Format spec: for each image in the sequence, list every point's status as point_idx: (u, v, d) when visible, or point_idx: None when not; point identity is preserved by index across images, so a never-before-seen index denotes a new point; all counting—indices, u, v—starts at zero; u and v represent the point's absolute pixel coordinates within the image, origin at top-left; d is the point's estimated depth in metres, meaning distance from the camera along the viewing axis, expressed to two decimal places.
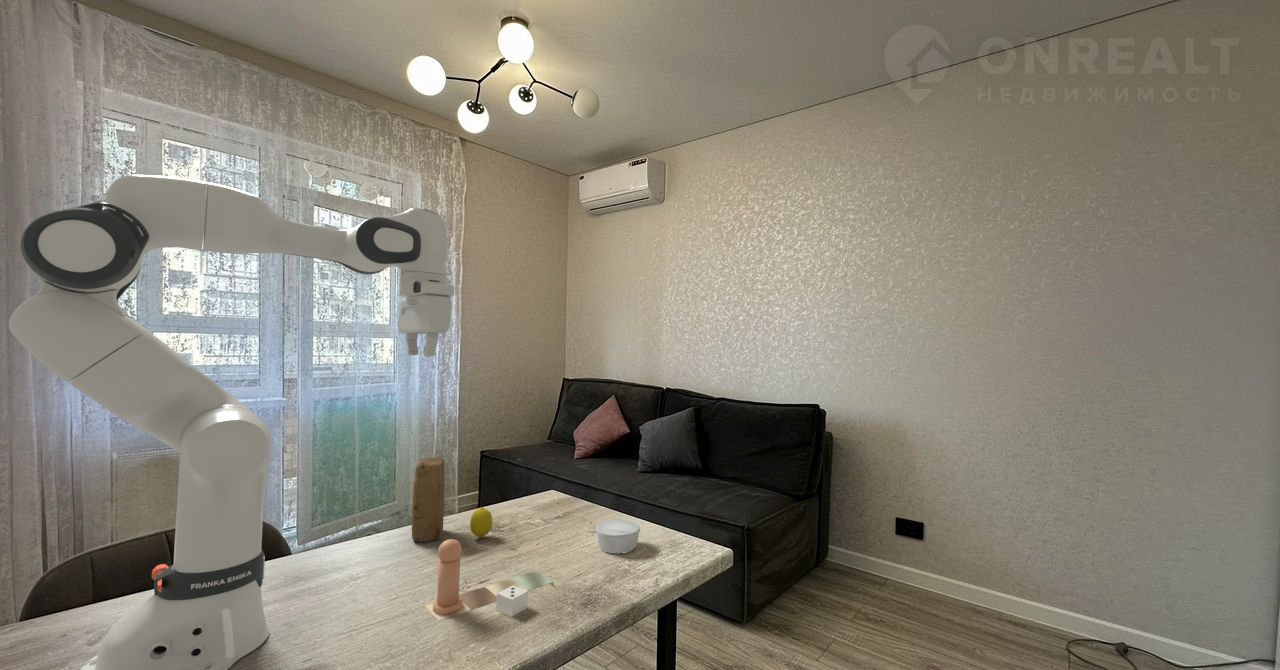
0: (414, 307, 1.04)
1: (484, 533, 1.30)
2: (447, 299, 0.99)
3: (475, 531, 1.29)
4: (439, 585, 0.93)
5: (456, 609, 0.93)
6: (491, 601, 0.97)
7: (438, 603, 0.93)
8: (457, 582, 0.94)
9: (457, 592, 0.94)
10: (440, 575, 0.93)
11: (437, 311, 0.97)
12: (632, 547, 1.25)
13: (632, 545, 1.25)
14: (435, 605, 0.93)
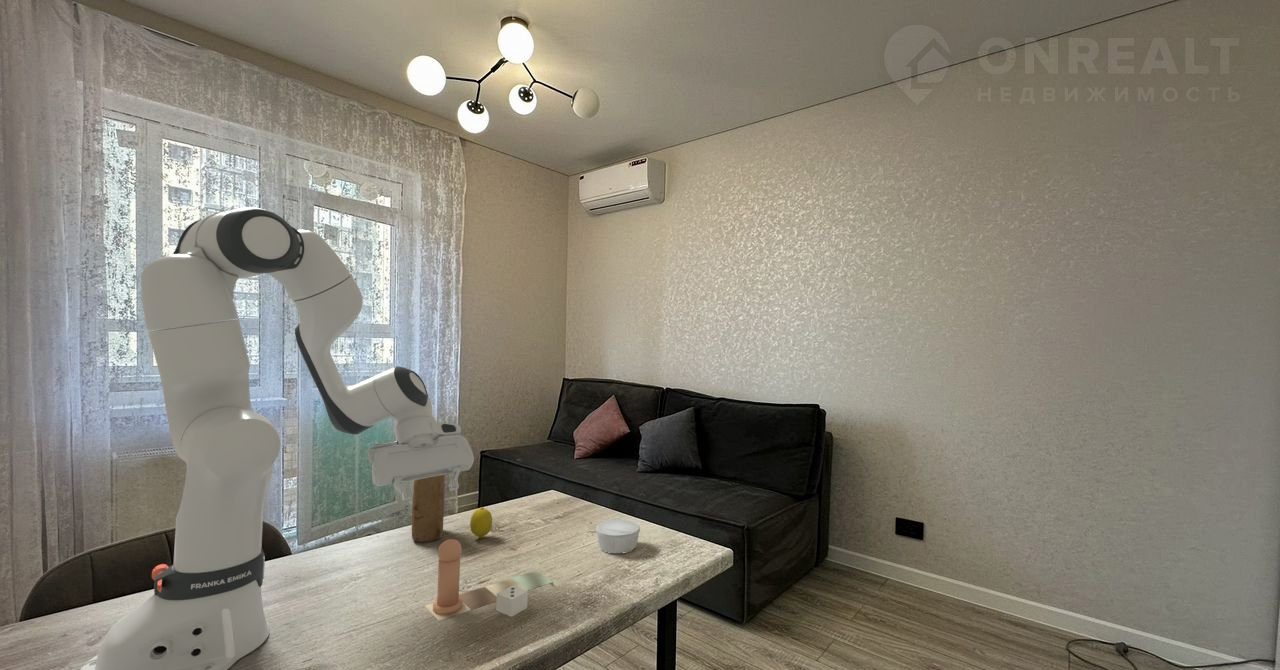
0: (421, 449, 1.09)
1: (484, 533, 1.30)
2: None
3: (475, 531, 1.29)
4: (439, 585, 0.93)
5: (456, 609, 0.93)
6: (491, 601, 0.97)
7: (438, 603, 0.93)
8: (457, 582, 0.94)
9: (457, 592, 0.94)
10: (440, 575, 0.93)
11: None
12: (632, 547, 1.25)
13: (632, 545, 1.25)
14: (435, 605, 0.93)
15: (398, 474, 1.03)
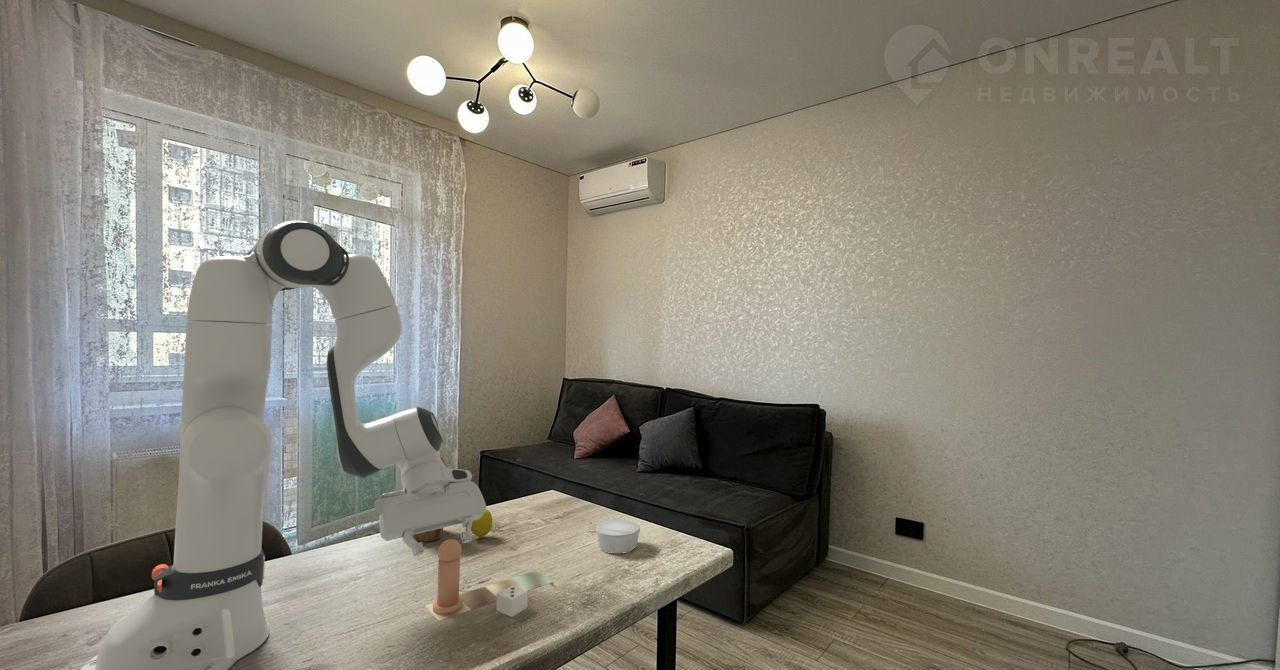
0: (431, 498, 1.02)
1: (484, 533, 1.30)
2: None
3: (475, 531, 1.29)
4: (439, 585, 0.93)
5: (456, 609, 0.93)
6: (491, 601, 0.97)
7: (438, 603, 0.93)
8: (457, 582, 0.94)
9: (457, 592, 0.94)
10: (440, 575, 0.93)
11: None
12: (632, 547, 1.25)
13: (632, 545, 1.25)
14: (435, 605, 0.93)
15: (409, 527, 0.96)
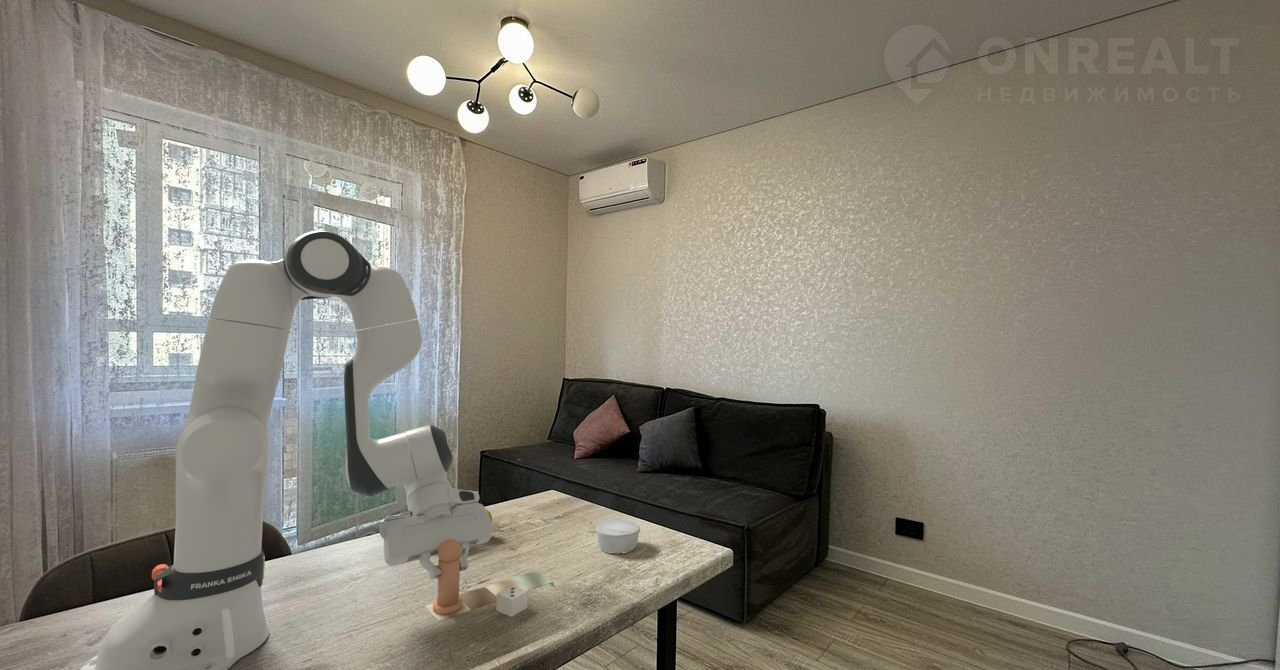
0: (438, 521, 0.99)
1: None
2: None
3: None
4: (439, 585, 0.93)
5: (456, 609, 0.93)
6: (491, 601, 0.97)
7: (438, 603, 0.93)
8: (457, 582, 0.94)
9: (457, 592, 0.94)
10: None
11: None
12: (632, 547, 1.25)
13: (632, 545, 1.25)
14: (435, 605, 0.93)
15: (415, 552, 0.92)
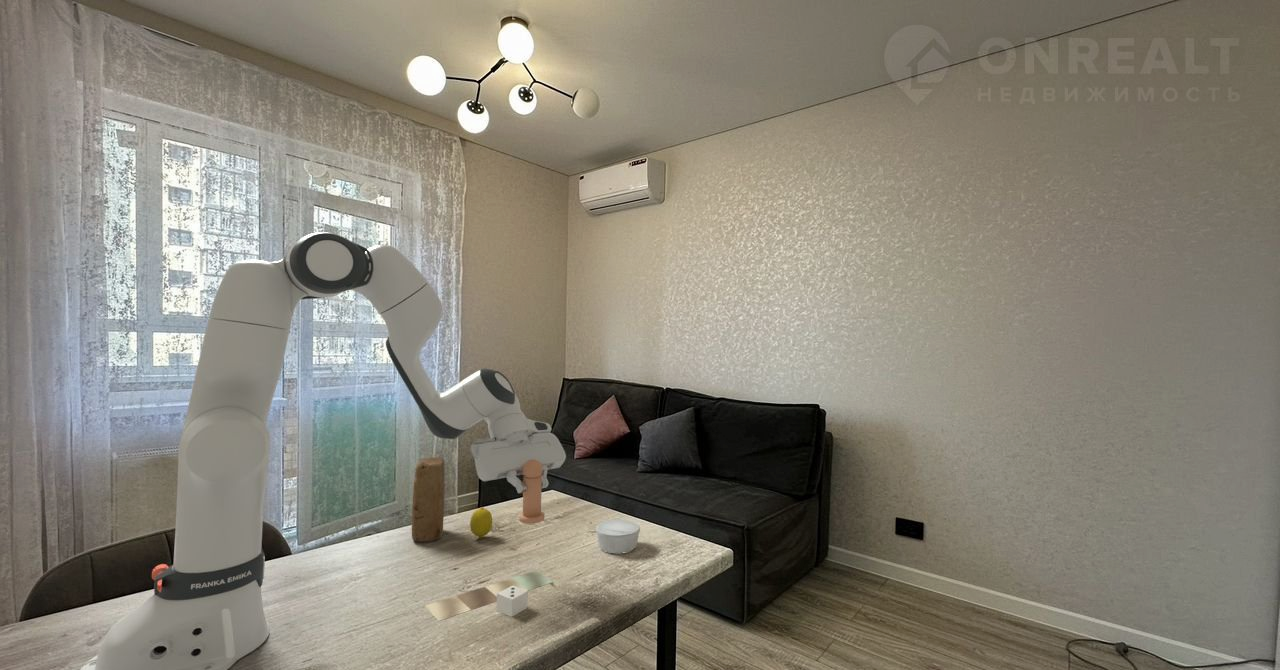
0: (519, 446, 1.11)
1: (484, 533, 1.30)
2: None
3: (475, 531, 1.29)
4: (525, 499, 1.05)
5: (540, 519, 1.05)
6: (491, 601, 0.97)
7: (524, 514, 1.05)
8: (540, 496, 1.06)
9: (540, 505, 1.06)
10: None
11: None
12: (632, 547, 1.25)
13: (632, 545, 1.25)
14: (522, 516, 1.05)
15: (504, 469, 1.04)
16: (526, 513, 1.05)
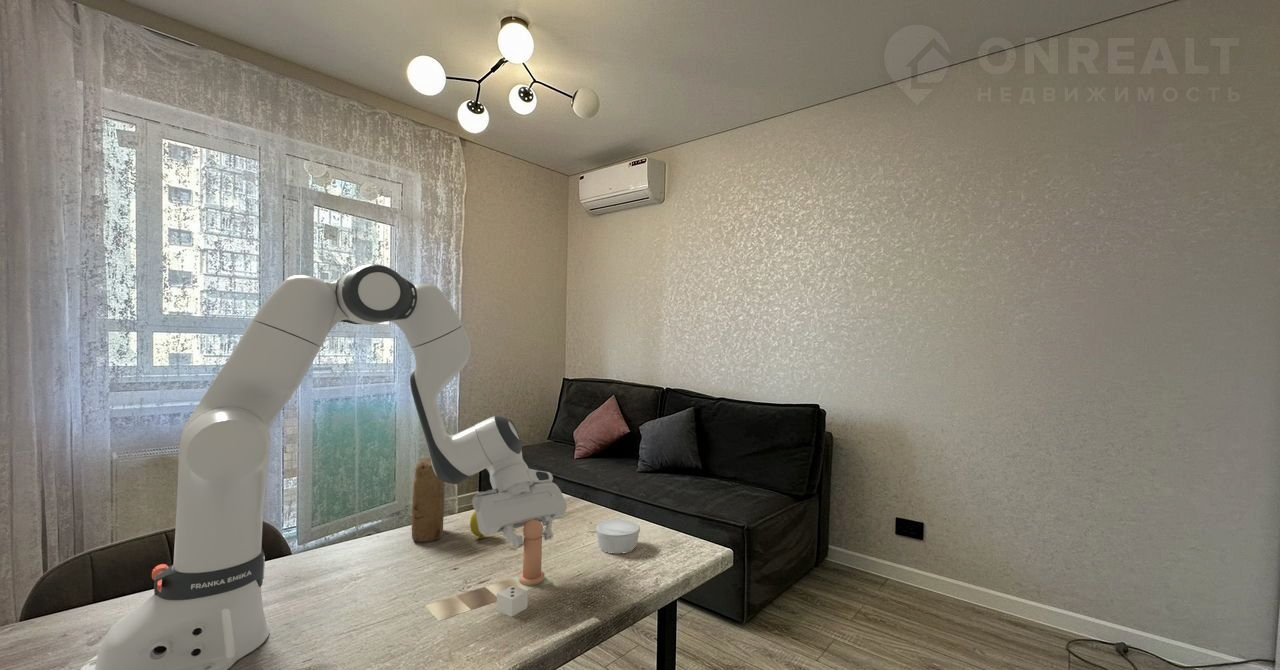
0: (520, 497, 1.11)
1: None
2: None
3: (475, 531, 1.29)
4: (525, 560, 1.05)
5: (540, 581, 1.05)
6: (491, 601, 0.97)
7: (524, 576, 1.05)
8: (540, 557, 1.06)
9: (540, 566, 1.06)
10: (526, 551, 1.05)
11: None
12: (632, 547, 1.25)
13: (632, 545, 1.25)
14: (522, 577, 1.05)
15: (505, 523, 1.04)
16: (526, 575, 1.05)
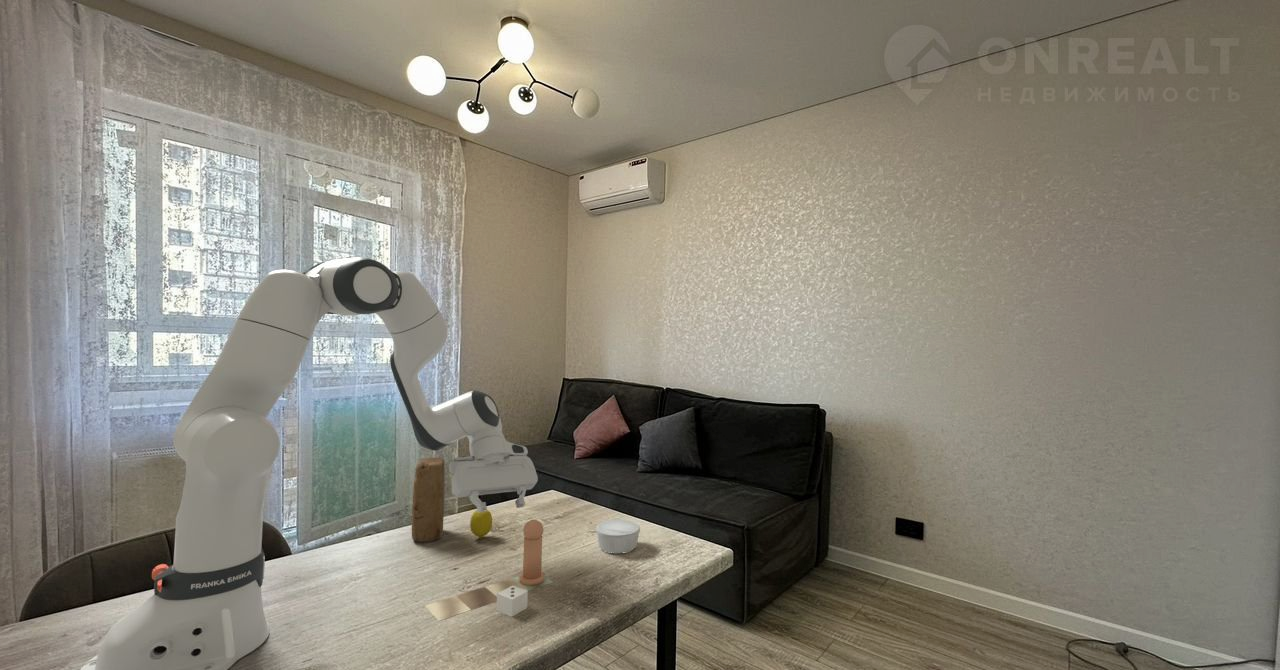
0: (494, 467, 1.20)
1: (484, 533, 1.30)
2: None
3: (475, 531, 1.29)
4: (525, 560, 1.05)
5: (540, 581, 1.05)
6: (491, 601, 0.97)
7: (524, 576, 1.05)
8: (540, 557, 1.06)
9: (540, 566, 1.06)
10: (526, 551, 1.05)
11: None
12: (632, 547, 1.25)
13: (632, 545, 1.25)
14: (522, 577, 1.05)
15: (476, 488, 1.14)
16: (526, 575, 1.05)
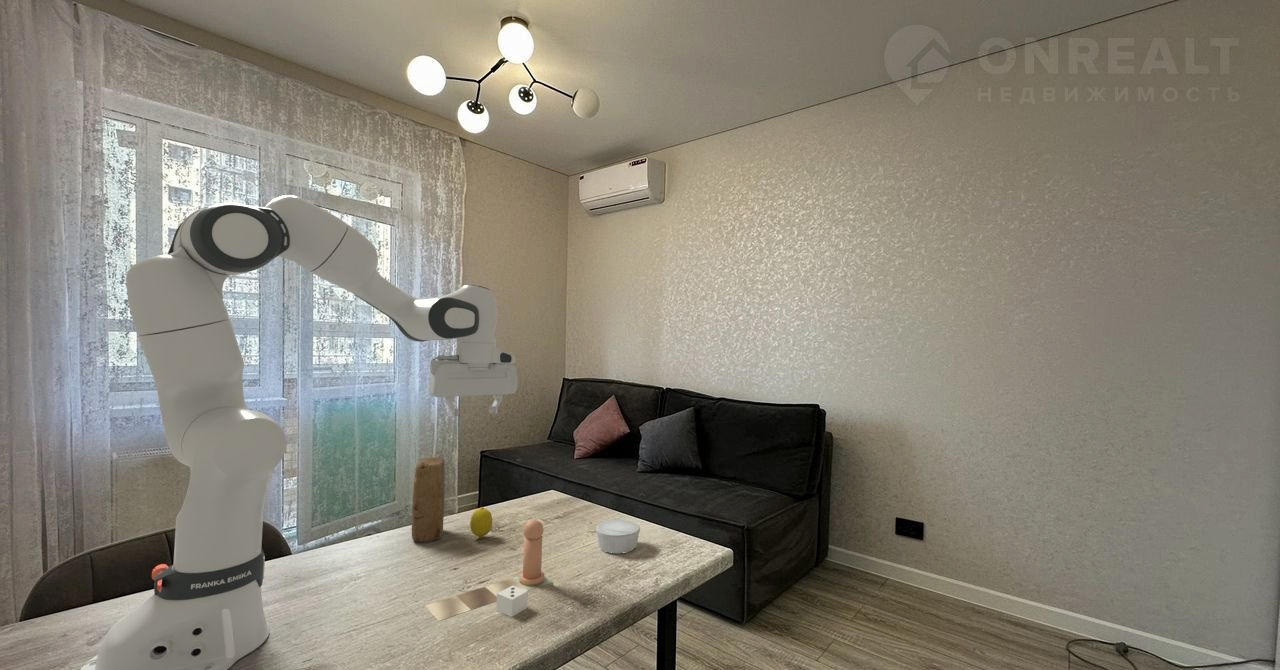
0: (477, 372, 1.16)
1: (484, 533, 1.30)
2: None
3: (475, 531, 1.29)
4: (525, 560, 1.05)
5: (540, 581, 1.05)
6: (491, 601, 0.97)
7: (524, 576, 1.05)
8: (540, 557, 1.06)
9: (540, 566, 1.06)
10: (526, 551, 1.05)
11: None
12: (632, 547, 1.25)
13: (632, 545, 1.25)
14: (522, 577, 1.05)
15: (453, 395, 1.12)
16: (526, 575, 1.05)
